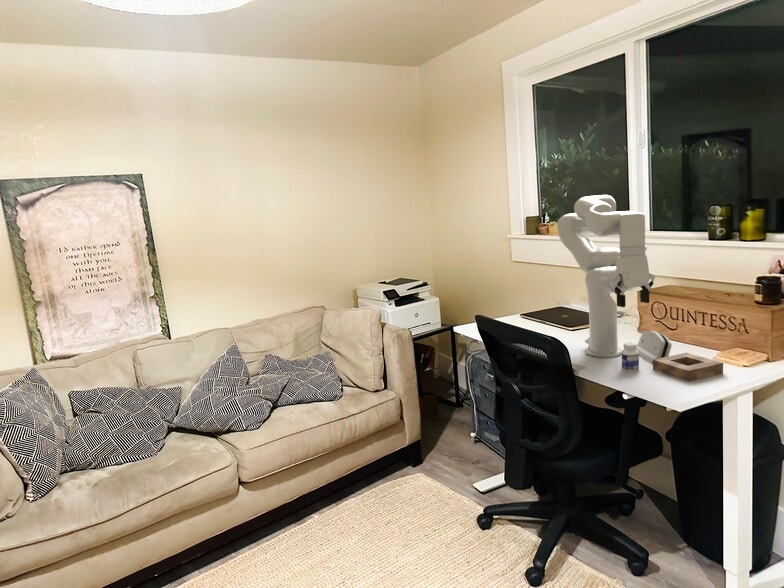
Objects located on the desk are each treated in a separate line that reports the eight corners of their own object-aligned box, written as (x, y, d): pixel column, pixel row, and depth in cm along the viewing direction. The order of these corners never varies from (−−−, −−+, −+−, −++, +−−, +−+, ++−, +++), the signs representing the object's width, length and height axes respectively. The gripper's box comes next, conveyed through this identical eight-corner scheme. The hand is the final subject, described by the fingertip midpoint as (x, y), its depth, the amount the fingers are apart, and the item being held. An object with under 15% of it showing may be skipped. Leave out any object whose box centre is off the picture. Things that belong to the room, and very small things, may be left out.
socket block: (652, 369, 183) (652, 359, 183) (686, 362, 188) (686, 352, 187) (688, 381, 170) (688, 370, 170) (723, 373, 175) (723, 362, 174)
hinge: (631, 351, 205) (640, 325, 204) (643, 354, 206) (653, 328, 204) (651, 364, 189) (661, 336, 187) (665, 368, 189) (675, 340, 188)
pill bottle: (620, 367, 188) (619, 341, 187) (636, 367, 188) (636, 341, 186) (623, 372, 183) (623, 346, 182) (640, 372, 182) (640, 345, 181)
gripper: (644, 248, 185) (645, 299, 188) (602, 253, 179) (603, 306, 182) (662, 249, 178) (663, 302, 181) (619, 255, 172) (620, 310, 175)
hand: (633, 304), depth 181 cm, fingers open, 9 cm apart
